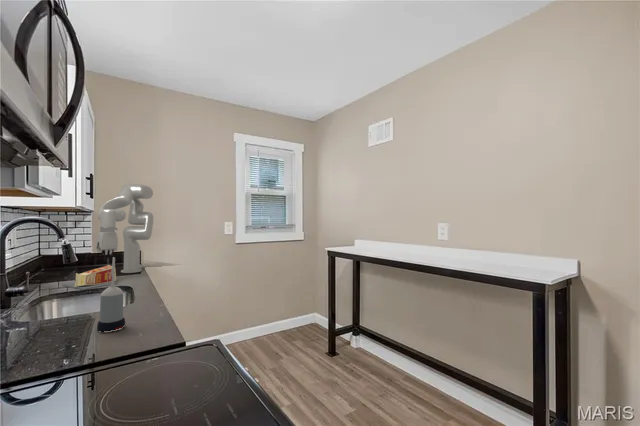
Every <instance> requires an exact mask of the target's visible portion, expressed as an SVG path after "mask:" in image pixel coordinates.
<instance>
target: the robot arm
mask: <svg viewBox="0 0 640 426" xmlns="http://www.w3.org/2000/svg"><path fill="white" fill-rule="evenodd" d="M153 195H154V191H153V189H152V187H150V186H148V185H144V184H132V183H127V184H124V185H123V186H122V187H121V189H120V191H119V193H118V194H117V196H116V197H114V198H111V199H110V200H108V201H106V202H104V203H103V204H102V205H101V207H100V208H99V210H98V212H97V218H98V220H99V221H100V222H99V226H100V227H99V232H98V233H97V237H96V241H95V242H96V243H95V249H96V252H97V253H101V254H102V255H103V261H104V262H105V263H109V262H111V255H112V254H113V253H114V252H116V251H118V246H119V241H118V234H117V231H118V228H117V227H116V226H117V224H116V222H123V221H124V220H125V219H127V223H128V224H129V226H126V227H124V228H123V230H122V236H123V269H121V270H120V273H123V274H131V273H133V274H134V273H140V272H142V271H143V269H142V268H147V265H146V264H140V261H141V260H140V257H141V253H140V252H141V245H140V243H139V242H138V241H145V240H146V241H147V240H150V239H151V237H152V234H153V228H154V227H153V225H154V215H153V212H150V211H144V208H145V207H144V204H143V202H142V201H141V200H140V199H142V200H143V199H145V200H147V199H151V198H152V197H153ZM128 206H129V211H128V217H127V213H126V212H125V210H123V209H122V208H125V207H128ZM126 217H127V218H126ZM131 225H132V226H131Z"/></svg>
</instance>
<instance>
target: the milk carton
mask: <svg viewBox="0 0 640 426" xmlns="http://www.w3.org/2000/svg"><path fill="white" fill-rule="evenodd" d="M111 270H112V265H110V264H107V265H104V266H102V267H98V268H94V269H93V268H92V269H91V270H88V271H84V272H82V273H77V272H76V273H75V282H74V283H75V287H76V286H82V285H96V284H103V283H107V276H108V282H112V275H111ZM107 272H108V273H107ZM116 272H117V271H116V269H115V270H114V274H115V282H117V273H116Z"/></svg>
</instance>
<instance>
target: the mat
mask: <svg viewBox="0 0 640 426" xmlns="http://www.w3.org/2000/svg"><path fill="white" fill-rule="evenodd" d="M117 284H118V282H117V281H115V282H114V285H117ZM110 285H111V282H108V286H110ZM62 286H63V287H66V288H72V289H77V290H81V291H85V290H91V289H95V288H101V287H105V286H106V287H108V286H107V283H103V284H96V285H82V286H76V287H75V282H70V283H64V284H62Z"/></svg>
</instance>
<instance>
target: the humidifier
mask: <svg viewBox="0 0 640 426" xmlns="http://www.w3.org/2000/svg"><path fill="white" fill-rule="evenodd" d="M111 261H112V263H111V266H112V270H111V275H112V282H111V285H108V276H107V286H106V287H107V288H105V289H104V290H103V291H102V292H101V294H100V303H99V305H100V306H99V320H98V322H97V325H96V326H97V327H96V328H97V329H96V331H101V332H104V331H111V330H116V329H119V328H122V327H123V326H124V325H125V326H126V319H125V317H124V291H123V289H121V288H120V287H118V286H116V284H114V282H116V281H115V274H114V270H116V264H115V263H116V257H114V256H113V257H112V260H111ZM107 273H108V272H107Z"/></svg>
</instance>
